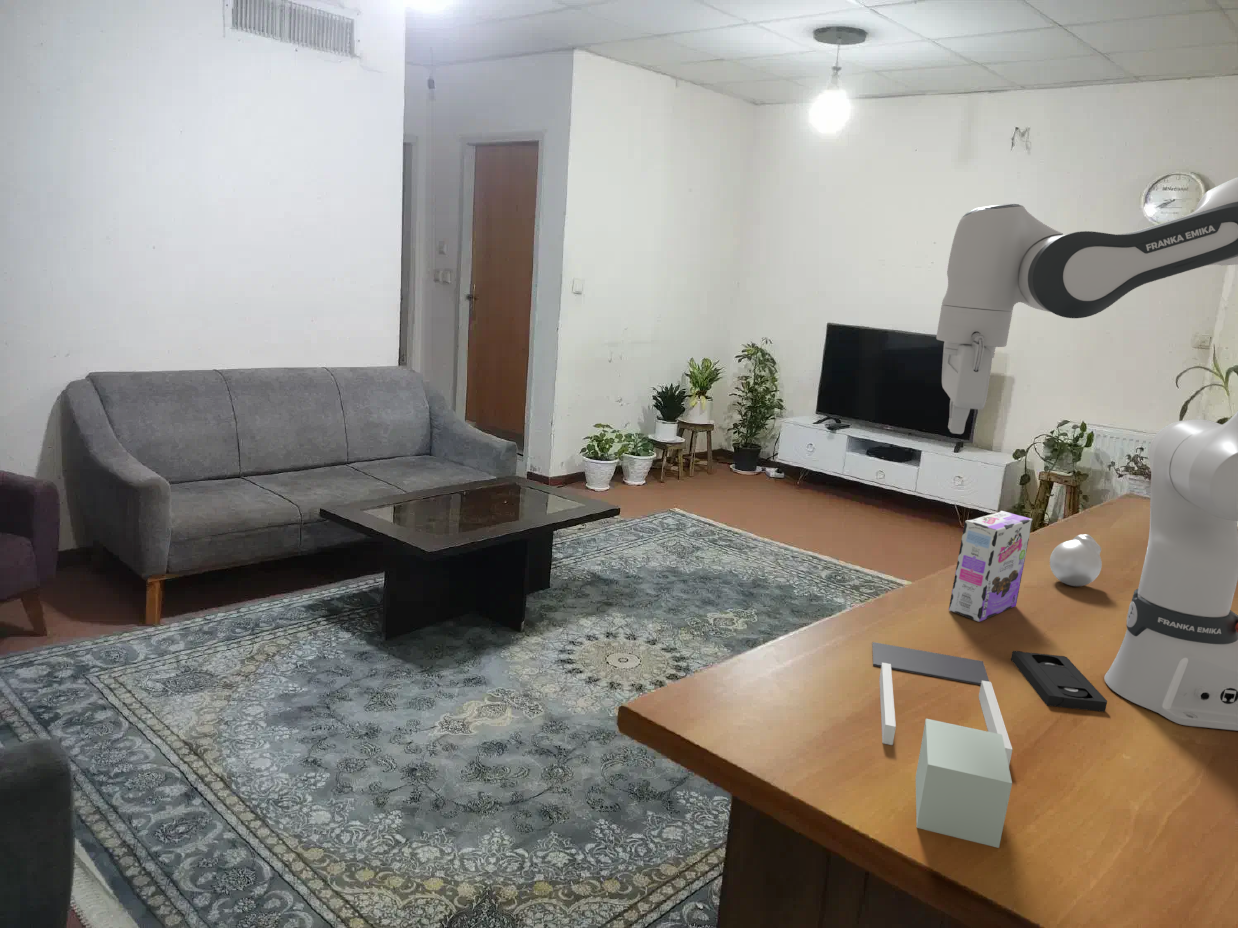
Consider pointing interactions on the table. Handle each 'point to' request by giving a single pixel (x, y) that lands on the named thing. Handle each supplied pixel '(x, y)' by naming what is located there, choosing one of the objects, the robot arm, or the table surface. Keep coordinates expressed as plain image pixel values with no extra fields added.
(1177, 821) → the table surface
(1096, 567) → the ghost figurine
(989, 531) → the candy box
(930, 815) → the sage block
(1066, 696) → the vhs tape
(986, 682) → the channel
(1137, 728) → the table surface
